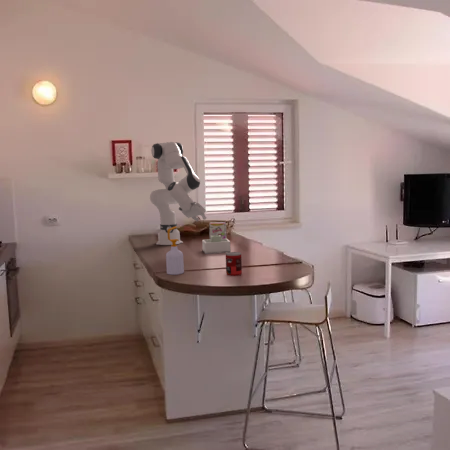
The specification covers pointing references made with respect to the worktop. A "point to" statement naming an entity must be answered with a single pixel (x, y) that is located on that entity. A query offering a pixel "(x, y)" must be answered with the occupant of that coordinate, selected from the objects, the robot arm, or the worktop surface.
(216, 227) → the candy bar box
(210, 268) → the worktop surface
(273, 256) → the worktop surface
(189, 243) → the worktop surface
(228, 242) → the box
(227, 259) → the canned food
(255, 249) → the worktop surface
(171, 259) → the soap bottle
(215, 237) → the small tote
